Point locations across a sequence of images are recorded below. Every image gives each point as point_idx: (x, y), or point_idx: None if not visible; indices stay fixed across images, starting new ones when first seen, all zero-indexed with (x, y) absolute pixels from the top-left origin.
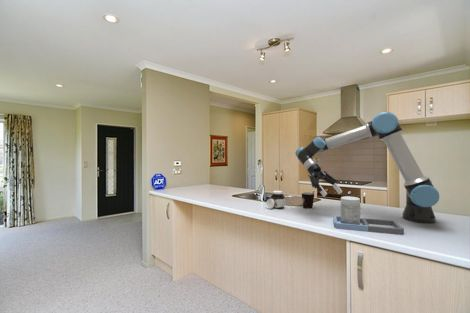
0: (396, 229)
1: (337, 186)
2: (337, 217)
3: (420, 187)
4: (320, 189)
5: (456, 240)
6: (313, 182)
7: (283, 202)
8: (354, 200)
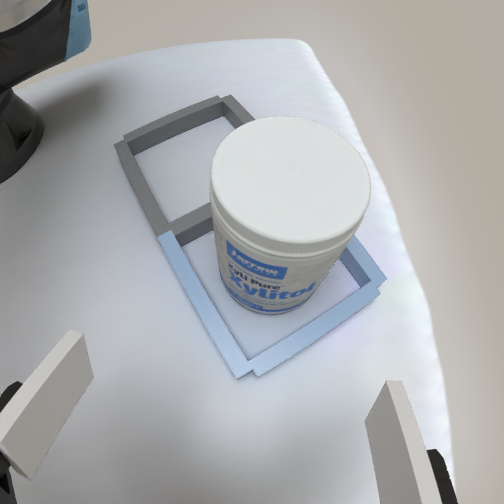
0: (241, 106)
1: (36, 395)
2: (242, 355)
3: None
4: (438, 457)
5: (180, 52)
6: None
7: None
8: (332, 132)
